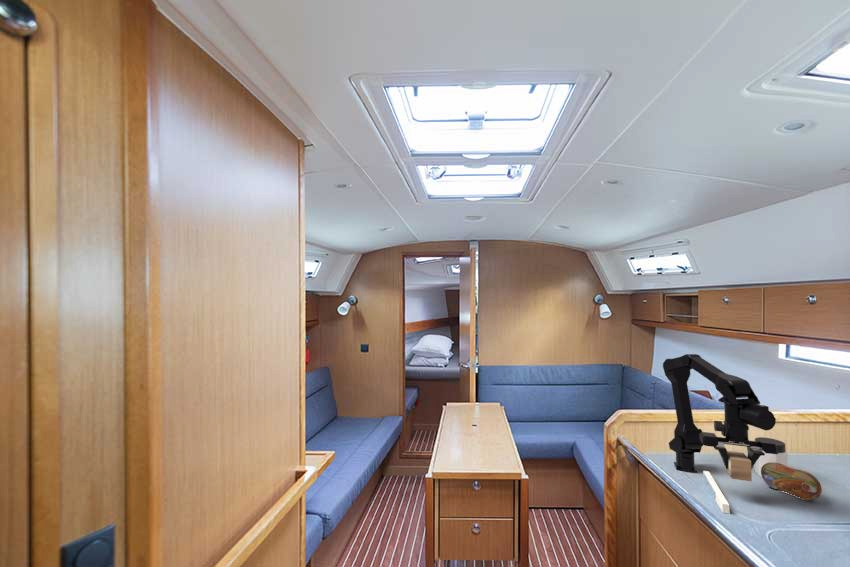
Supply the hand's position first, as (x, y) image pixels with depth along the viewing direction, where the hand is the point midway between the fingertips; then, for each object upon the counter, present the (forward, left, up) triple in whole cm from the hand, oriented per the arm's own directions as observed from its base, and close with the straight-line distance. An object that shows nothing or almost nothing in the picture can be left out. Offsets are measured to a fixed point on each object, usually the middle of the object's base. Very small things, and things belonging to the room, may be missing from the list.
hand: (737, 470), depth 125 cm
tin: (-10, +16, -9) cm, 21 cm away
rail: (0, -6, -8) cm, 10 cm away
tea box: (0, 0, -2) cm, 2 cm away
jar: (-23, +15, -9) cm, 29 cm away
